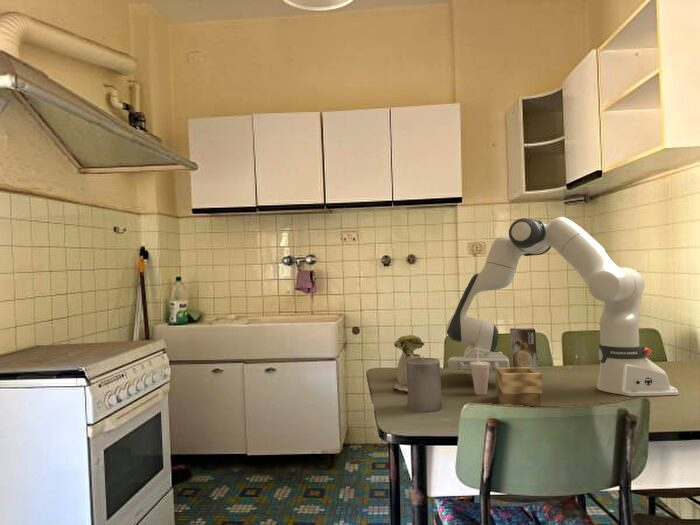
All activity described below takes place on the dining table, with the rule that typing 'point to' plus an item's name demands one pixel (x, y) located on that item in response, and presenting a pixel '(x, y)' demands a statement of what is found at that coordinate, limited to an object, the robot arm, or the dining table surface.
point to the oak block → (518, 380)
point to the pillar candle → (424, 384)
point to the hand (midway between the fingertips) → (479, 367)
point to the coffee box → (523, 347)
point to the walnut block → (519, 399)
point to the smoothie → (480, 375)
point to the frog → (405, 357)
